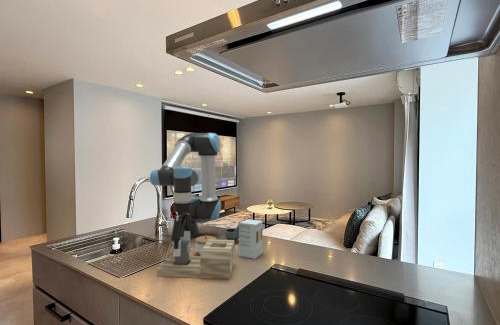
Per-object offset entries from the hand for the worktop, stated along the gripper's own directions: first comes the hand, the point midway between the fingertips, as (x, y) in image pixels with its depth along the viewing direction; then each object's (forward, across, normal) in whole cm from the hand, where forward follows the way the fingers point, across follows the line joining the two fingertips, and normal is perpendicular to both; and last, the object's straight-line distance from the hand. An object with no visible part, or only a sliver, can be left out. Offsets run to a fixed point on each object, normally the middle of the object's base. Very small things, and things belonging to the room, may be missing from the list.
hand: (182, 250), depth 112 cm
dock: (+8, 0, -7) cm, 11 cm away
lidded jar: (+8, +19, -6) cm, 22 cm away
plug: (+8, 0, 0) cm, 8 cm away
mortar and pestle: (+8, +39, -18) cm, 44 cm away
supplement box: (+8, +20, -29) cm, 36 cm away
